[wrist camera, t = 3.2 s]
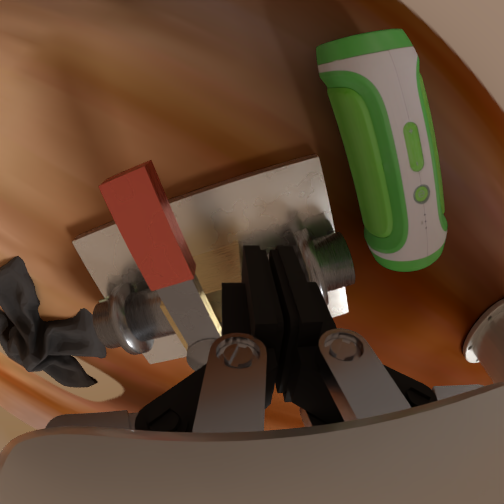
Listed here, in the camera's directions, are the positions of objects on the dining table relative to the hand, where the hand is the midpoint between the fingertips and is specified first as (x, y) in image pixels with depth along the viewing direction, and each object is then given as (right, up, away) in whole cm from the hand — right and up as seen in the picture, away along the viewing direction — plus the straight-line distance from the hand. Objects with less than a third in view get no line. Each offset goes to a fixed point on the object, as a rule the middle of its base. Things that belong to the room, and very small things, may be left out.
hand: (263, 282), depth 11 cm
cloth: (-27, -9, +21) cm, 36 cm away
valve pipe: (-4, -1, +18) cm, 18 cm away
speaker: (+10, +10, +13) cm, 19 cm away
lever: (-5, 0, +9) cm, 10 cm away
